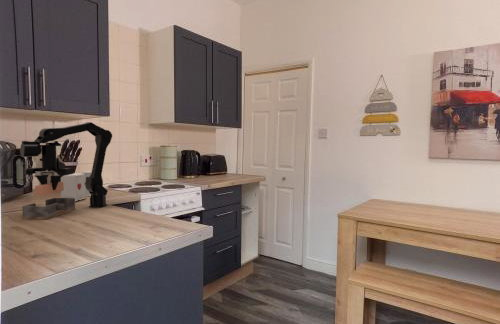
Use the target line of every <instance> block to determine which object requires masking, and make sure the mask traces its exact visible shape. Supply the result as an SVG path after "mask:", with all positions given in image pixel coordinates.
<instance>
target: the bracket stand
mask: <svg viewBox="0 0 500 324" xmlns="http://www.w3.org/2000/svg"><path fill="white" fill-rule="evenodd" d="M21 207H22V220H42V221H43V220H49V219H52V218H55V217H58V216H60V215H62V214H65V213H69V212H71V211H73V210H76V202H75V198H61V197H51V198H47V199H45V205H44V206H43V205H36V203H35V202H34V203H29V204H27V205H23V206H21Z"/></svg>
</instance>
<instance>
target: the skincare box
mask: <svg viewBox="0 0 500 324" xmlns="http://www.w3.org/2000/svg"><path fill="white" fill-rule="evenodd" d="M91 173H92V170H91V171H88V170H87V171H86V170H84V171H81V174H85V182H86V177H89V176H90V175H91ZM87 195H91V194H90V193H89V191H88V190H87V189H86V187H85V196H87Z"/></svg>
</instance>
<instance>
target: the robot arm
mask: <svg viewBox="0 0 500 324" xmlns="http://www.w3.org/2000/svg"><path fill="white" fill-rule="evenodd" d="M83 132H88V133H89V134H91V135H92V136H93V137H94V142H95V145H96V147H95V152H94V157H93V158H94V159H93V163H92V168H91V172H92V173H91V175H90V176H89V177H86V182H85V184H84V185H85V187H86V189H87V190H88V191H89V193H90V194H91V196H90V197H89V208H104V207H106V206H108V203H107V199H106V198H107V197H106V196H107V194H108V190H107V189H106V188H105V187H104V180H103V175H102V174H103V168H104V164H105V163H104V162H105V158H106V152H107V148H108V147H109V145H110V144H111V141H112V139H113V133H112V132H111V131H110V130H109V129H104V127H101V126H99V125H97V124H95V123H93V122H92V121H91V122H90V121H88V122H84V123H80V124H75V125H69V126H66V127H65V126H64V127H51V128H48V127H47V128H42V129H40V130H39V134H38V136H37V137H36V138H35V139H34V141H28V140H22V141H21V144H20V148H19V154H20V156H21V157H22V158H23V157H24V158H26V157H27V158H29V157H39V155H41V157H40V158H39V162H41V167H27V168H25V169H26V170H25V171H24V172H25V175H26V176H27V175H28V176H29V175H31V176H32V175H33V174H35V175H34V176H33V177H35V178H36V179H37V180H38V182H39V183H40V185H43V184H48V178H49V175H50V174H53V175H50V183H52V188H53V190H56V187H57V185H58V182H60V181H61V177H62V176H64V175H70V174H73V173H74V170H73V168H72V167H66V163H64V162H62V161H60V159H59V157H57V147H61V146H62V144H61V143H59V141H58V140H59V139H61V138H64V137H65V136H69V135H75V134H79V133H83Z"/></svg>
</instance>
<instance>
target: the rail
mask: <svg viewBox="0 0 500 324" xmlns="http://www.w3.org/2000/svg"><path fill="white" fill-rule="evenodd" d="M63 190H64V186H63V182H61V181H59V182H58V185H57V187H56V190H53V188H52V182H49V183H48V182H47V184H43V185H41V184H38V185H35V186H34V193H35V196H46V195H51V194H54V193H55V194H56V193H58V192H61V191H63Z"/></svg>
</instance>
